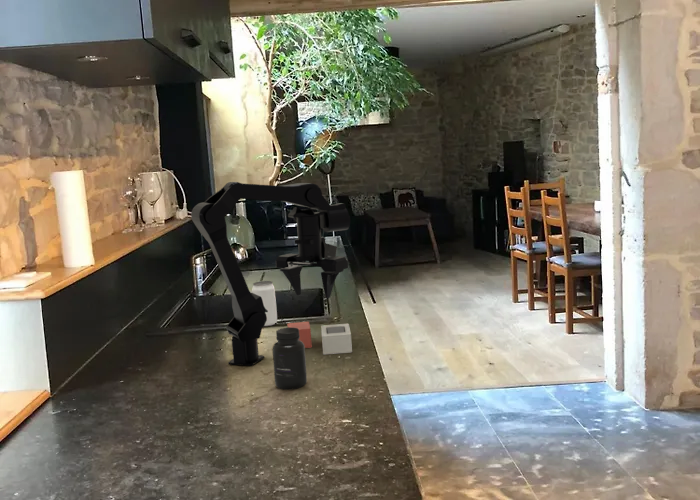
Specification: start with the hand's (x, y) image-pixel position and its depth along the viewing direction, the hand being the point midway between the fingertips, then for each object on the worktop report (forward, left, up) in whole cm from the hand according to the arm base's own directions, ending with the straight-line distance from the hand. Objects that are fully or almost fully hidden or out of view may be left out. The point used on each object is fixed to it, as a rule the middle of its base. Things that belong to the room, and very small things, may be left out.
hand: (313, 296), depth 172 cm
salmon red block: (+1, +5, -13) cm, 14 cm away
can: (+18, +24, -13) cm, 32 cm away
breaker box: (0, -6, -13) cm, 14 cm away
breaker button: (0, -6, -11) cm, 13 cm away
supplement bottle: (-27, -6, -13) cm, 30 cm away
